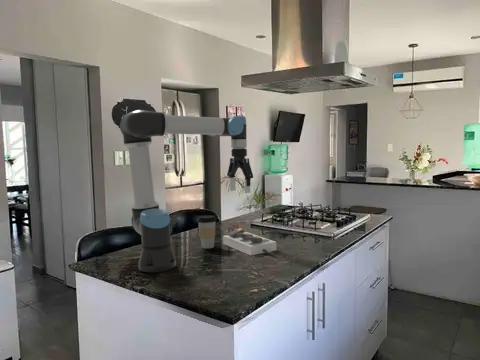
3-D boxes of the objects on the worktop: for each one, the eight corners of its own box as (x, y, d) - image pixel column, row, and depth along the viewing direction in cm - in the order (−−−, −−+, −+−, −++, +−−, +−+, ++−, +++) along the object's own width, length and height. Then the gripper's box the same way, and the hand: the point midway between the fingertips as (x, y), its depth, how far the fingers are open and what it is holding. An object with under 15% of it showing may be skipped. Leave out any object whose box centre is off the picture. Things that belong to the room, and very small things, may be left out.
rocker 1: (232, 237, 190) (232, 234, 190) (229, 236, 194) (228, 232, 194) (244, 232, 194) (243, 229, 193) (240, 230, 197) (239, 227, 197)
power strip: (260, 259, 167) (260, 248, 166) (223, 243, 196) (222, 234, 195) (286, 254, 174) (286, 243, 173) (246, 239, 203) (246, 230, 203)
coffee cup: (194, 248, 189) (193, 217, 187) (205, 243, 197) (204, 214, 196) (211, 250, 184) (209, 219, 183) (221, 245, 192) (220, 215, 191)
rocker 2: (240, 237, 183) (241, 233, 183) (236, 235, 187) (236, 232, 187) (252, 238, 187) (253, 235, 187) (248, 237, 190) (249, 233, 190)
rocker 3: (249, 240, 176) (250, 236, 176) (244, 239, 180) (245, 235, 180) (262, 242, 180) (262, 238, 180) (257, 240, 183) (258, 236, 183)
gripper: (260, 148, 181) (260, 193, 183) (232, 148, 202) (233, 189, 204) (246, 148, 177) (247, 194, 179) (219, 148, 198) (220, 190, 200)
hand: (240, 191), depth 192 cm, fingers open, 13 cm apart
